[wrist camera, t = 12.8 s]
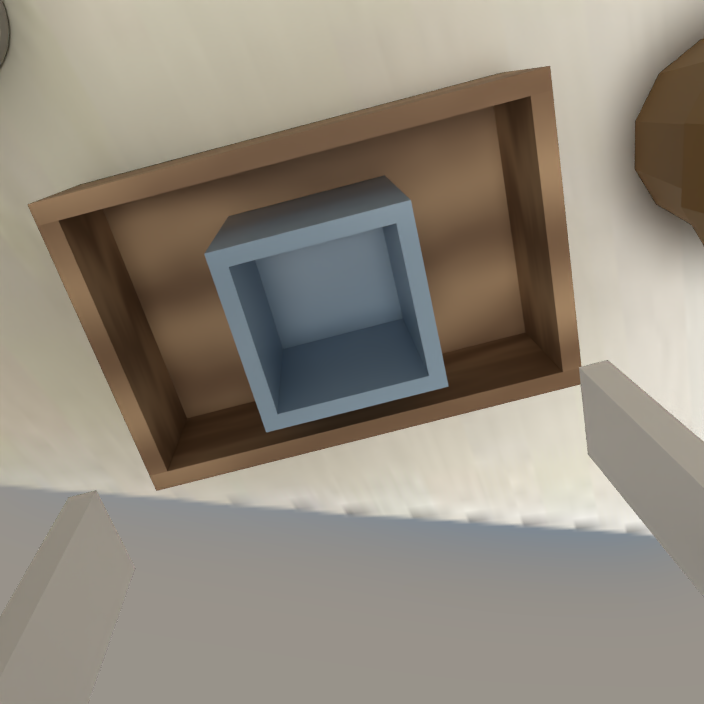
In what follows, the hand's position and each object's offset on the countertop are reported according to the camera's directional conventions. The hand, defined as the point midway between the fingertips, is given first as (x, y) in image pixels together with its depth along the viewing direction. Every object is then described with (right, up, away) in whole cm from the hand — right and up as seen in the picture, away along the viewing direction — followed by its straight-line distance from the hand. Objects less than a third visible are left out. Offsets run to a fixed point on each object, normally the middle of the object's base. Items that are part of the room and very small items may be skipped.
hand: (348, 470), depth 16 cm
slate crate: (-1, +8, +19) cm, 21 cm away
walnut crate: (-1, +8, +20) cm, 22 cm away
